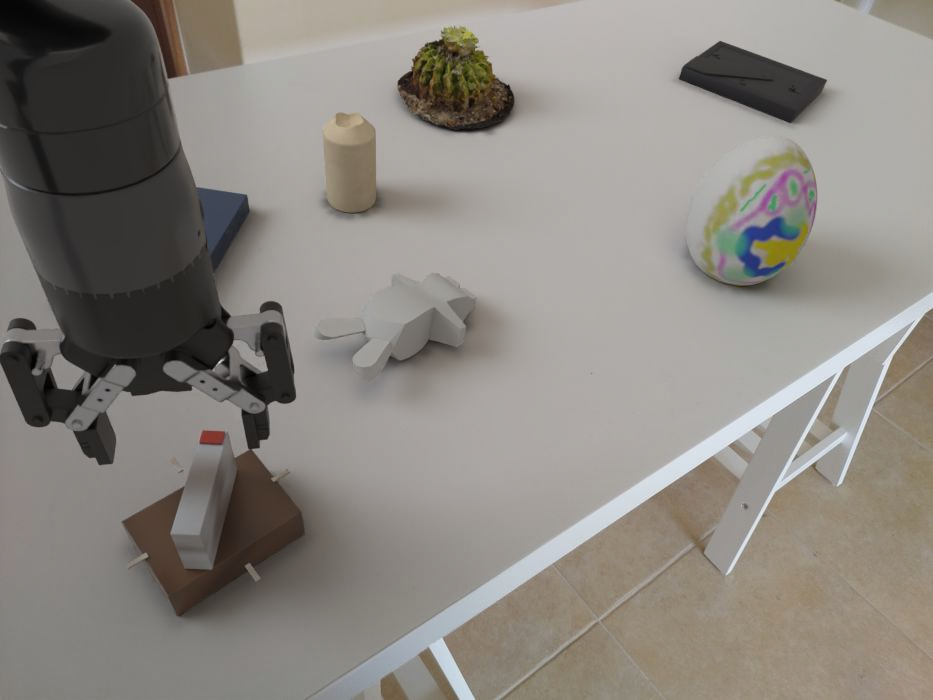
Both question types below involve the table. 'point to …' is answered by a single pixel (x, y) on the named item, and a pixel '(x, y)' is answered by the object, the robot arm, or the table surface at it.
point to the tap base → (242, 539)
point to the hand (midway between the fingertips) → (183, 445)
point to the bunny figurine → (404, 321)
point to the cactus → (455, 84)
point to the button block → (222, 219)
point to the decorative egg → (752, 211)
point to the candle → (350, 162)
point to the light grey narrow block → (205, 501)
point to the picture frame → (753, 80)
